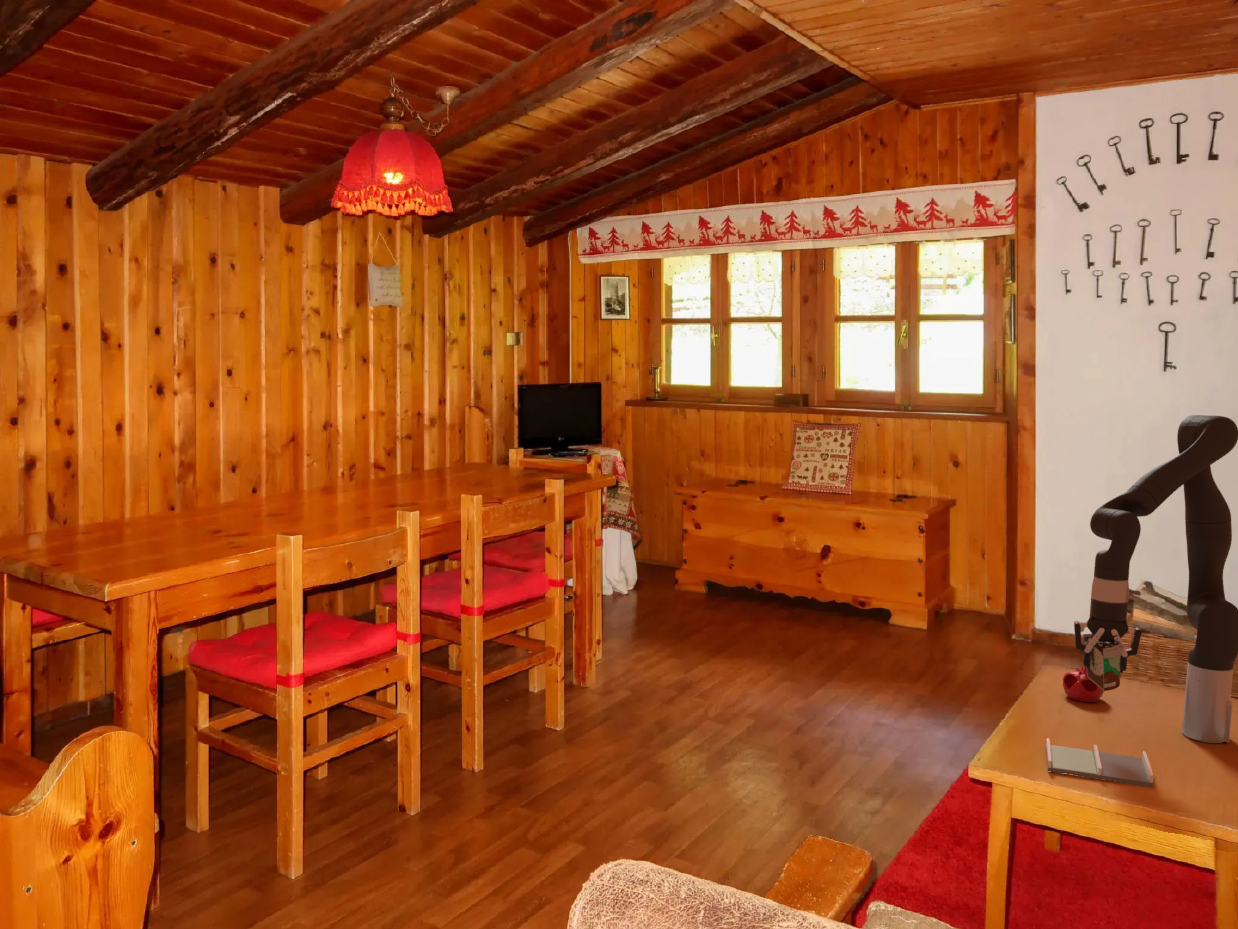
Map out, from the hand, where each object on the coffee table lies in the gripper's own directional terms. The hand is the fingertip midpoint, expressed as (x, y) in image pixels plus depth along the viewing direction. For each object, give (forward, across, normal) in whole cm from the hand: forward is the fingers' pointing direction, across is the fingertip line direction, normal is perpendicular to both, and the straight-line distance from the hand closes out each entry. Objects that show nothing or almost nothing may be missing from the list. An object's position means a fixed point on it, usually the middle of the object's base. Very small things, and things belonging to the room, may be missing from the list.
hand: (1104, 669), depth 232 cm
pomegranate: (+18, +2, -34) cm, 38 cm away
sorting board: (+18, +1, +14) cm, 23 cm away
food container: (+3, -1, 0) cm, 4 cm away
